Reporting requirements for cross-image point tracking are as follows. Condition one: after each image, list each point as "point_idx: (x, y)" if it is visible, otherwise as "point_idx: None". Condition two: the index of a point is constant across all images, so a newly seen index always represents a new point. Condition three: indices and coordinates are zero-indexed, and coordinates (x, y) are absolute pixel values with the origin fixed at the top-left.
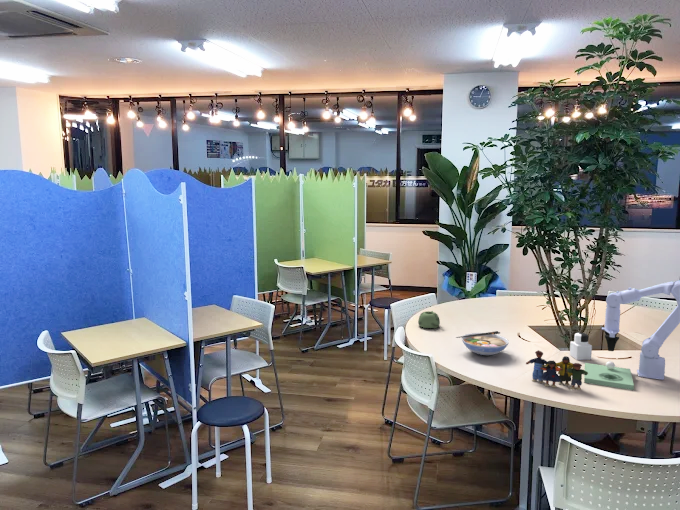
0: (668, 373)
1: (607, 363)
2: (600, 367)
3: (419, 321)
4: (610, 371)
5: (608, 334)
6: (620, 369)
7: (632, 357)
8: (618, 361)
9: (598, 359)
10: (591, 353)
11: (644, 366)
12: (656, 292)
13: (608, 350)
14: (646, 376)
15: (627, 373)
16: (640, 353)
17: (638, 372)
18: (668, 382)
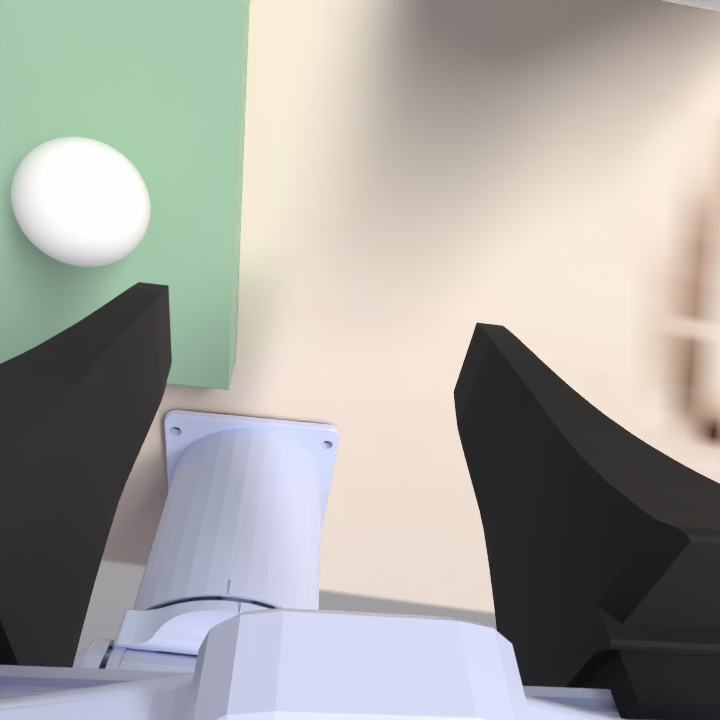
0: (347, 572)
1: (27, 170)
2: (109, 52)
3: None
4: (2, 170)
5: (563, 531)
6: None
7: (705, 451)
8: (589, 328)
9: (660, 118)
10: (701, 7)
11: (166, 520)
12: None
13: (131, 288)
14: (169, 460)
15: None
16: (222, 612)
17: (253, 427)
18: (145, 544)
